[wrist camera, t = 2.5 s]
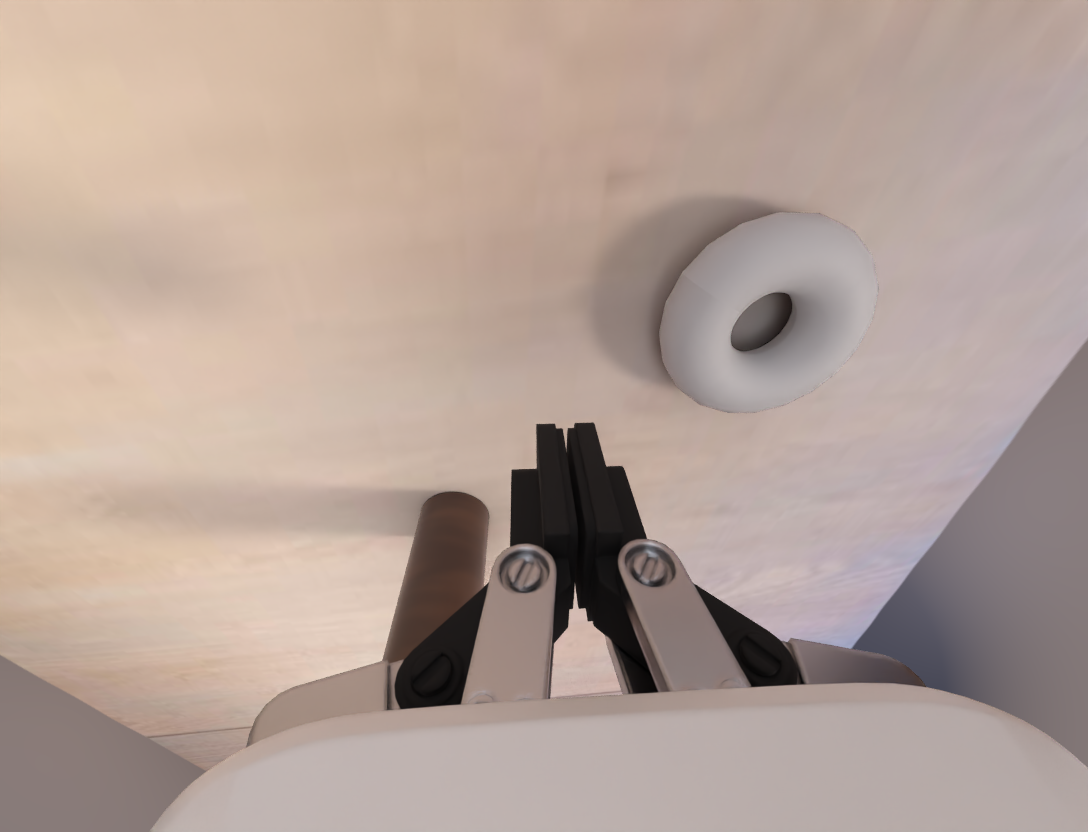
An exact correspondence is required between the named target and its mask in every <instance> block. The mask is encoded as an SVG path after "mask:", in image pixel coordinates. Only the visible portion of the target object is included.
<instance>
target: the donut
mask: <svg viewBox="0 0 1088 832" xmlns="http://www.w3.org/2000/svg"><path fill="white" fill-rule="evenodd" d="M878 291H879V286H878V280H877V275H876V269H875V264H874V259H873V256H872V254H871V252H870V251H869V250H868V248H867V247H866V246H865V244H864V243H863V242H862V240H861V239H860V238H859V236H858V235H857V234H856V232H855V231H854V230H852V229H851V228H849V227H847V226H845V225H843V224H841V223H839V222H837V221H835V220H833V219H831V218H829V217H826V216H824V215H822V214H820V213H791V212H777V213H774V214H771V215H767V216H764V217H761V218H757V219H754V220H751V221H748V222H744V223H741V224H740V225H738V226H736V227H735V228H733V229H732V230H730V231H729V232H727V233H725V234H724V235H722V236H721V237H719V238H718V239H716V240H714V241H713V242H711V243H710V244H708V245H707V246H706V247H705V248H704V249H703V250H702V252H701V253H700V254H699V255H698V256H697V257H696V258H695V259H694V260H693V261H692V262H691V263H690V264H689V265H688V267H687V268H686V269H685V270H684V271H683V272H682V273H681V275H680V277H679V279H678V281H677V282H676V284H675V286H674V288H673V290H672V292H671V294H670V295H669V297H668V299H667V301H666V303H665V307H664V312H663V316H662V321H661V326H660V330H659V337H660V345H661V353H662V360H663V364H664V366H665V368H666V369H667V371H668V373H669V375H670V376H671V378H672V380H673V382H674V384H675V385H676V386H677V387H678V388H679V389H680V390H681V391H682V392H684V393H685V394H686V395H688V396H689V397H690V398H692V399H693V400H694V401H695V402H697V403H698V404H700V405H703V406H707V407H710V408H713V409H716V410H720V411H723V412H727V413H756V412H760V411H764V410H768V409H772V408H776V407H780V406H783V405H786V404H788V403H790V402H792V401H794V400H796V399H798V398H800V397H802V396H804V395H806V394H808V393H810V392H812V391H813V390H815V389H816V388H817V387H819V386H820V385H821V384H823V383H824V382H825V381H826V380H828V379H829V378H830V377H832V376H833V375H834V374H836V373H837V372H838V370H839V369H840V368H841V367H842V366H843V365H844V364H845V362H846V361H847V360H848V359H849V358H850V357H851V355H852V354H853V353H854V352H855V351H856V350H857V348H858V346H859V345H860V343H861V341H862V339H863V337H864V335H865V333H866V331H867V329H868V327H869V325H870V324H871V322H872V320H873V316H874V311H875V306H876V301H877V296H878ZM774 292H781V293H786V294H789V296H790V297H791V300H792V303H793V304H792V312H791V315H790V317H789V320H788V322H787V324H786V325H785V327H784V328H783V329H782V331H781V332H780V333H779V334H778V335H777V336H776V337H775V338H774V339H773V340H771V341H770V342H769V343H767V344H765V345H763V346H761V347H760V348H757V349H754V350H750V351H739V350H736V349H735V348H734V347H732V344H731V332H732V329H733V326H734V324H735V323H736V321H737V320H738V318H739V317H740V315H741V313H742V312H743V311H744V310H746V309H747V308H748V307H749V306H750V305H751V304H752V303H753V302H755V301H756V300H758V299H760V298H762V297H763V296H765V295H767V294H771V293H774Z"/></svg>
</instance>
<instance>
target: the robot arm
mask: <svg viewBox="0 0 1088 832" xmlns="http://www.w3.org/2000/svg"><path fill="white" fill-rule="evenodd" d="M536 435H537V469H517V470H512V477H511V532H510V547H509V548H507V549H506V550H504V551H503V552H502V553H501V554H500V555H499V556H498V557H497V558H496V560H495V563H494V565H493V567H492V572H491V576H490V580H489V583H488V584H487V585H485V586H484V587H483V588H482V589H481V590H480V591H479V592H478V593H476V594H475V595H474V596H473V597H472V598H471V599H470V600H469V601H467V602H466V603H465V604H464V605H463V606H462V607H461V608H460V609H458V610H457V611H456V612H455V613H454V614H453V615H452V616H451V617H449V618H448V619H447V620H446V621H445V622H444V623H443V624H442V625H440V626H439V627H438V628H437V629H436V630H435V631H434V632H433V633H431V634H430V635H429V636H428V637H427V638H426V639H425V640H423V641H422V642H421V643H420V644H419V645H418V646H417V647H416V648H414V649H413V650H412V651H411V652H410V654H409V655H408V656H407V657H406V658H405V659H403V660H400V661H396V662H393V663H389V662H388V660H384V661H381V662H378V663H374V664H371V665H367V666H364V667H360V668H357V669H354V670H350V671H347V672H343V673H340V674H337V675H333V676H330V677H326V678H323V679H319V680H316V681H313V682H309V683H306V684H302V685H299V686H295V687H292V688H290V689H288V690H286V691H284V692H282V693H280V694H278V695H277V696H276V697H275V698H274V699H272V700H271V701H270V702H269V703H267V704H266V706H265V707H264V708H263V710H262V711H261V712H260V714H259V715H258V716H257V717H256V719H255V722H254V724H253V726H252V729H251V731H250V734H249V738H248V742H247V746H246V748H245V749H243V750H241V751H239V752H237V753H235V754H233V755H232V756H230V757H228V758H227V759H225V760H224V761H222V762H220V763H219V764H217V765H216V766H214V767H213V768H211V769H209V770H208V771H207V772H206V773H204V774H203V775H202V776H200V777H199V778H198V779H196V780H195V781H194V782H192V783H191V784H190V785H189V786H188V787H187V788H186V789H185V790H184V791H183V792H182V793H181V794H180V795H179V796H178V797H177V798H176V799H175V800H174V801H173V802H172V804H171V805H170V806H169V807H168V808H167V809H166V810H165V812H164V813H163V814H162V816H161V817H160V818H159V819H158V821H157V822H156V824H155V825H154V826H153V828H152V829H151V830H150V832H1088V768H1087V767H1086V766H1085V765H1084V764H1083V763H1082V762H1080V761H1079V760H1078V759H1077V758H1076V757H1075V756H1074V755H1072V754H1071V753H1070V752H1069V751H1068V750H1066V749H1065V748H1064V747H1063V746H1061V745H1060V744H1059V743H1057V742H1056V741H1055V740H1053V739H1052V738H1051V737H1050V736H1048V735H1046V734H1045V733H1044V732H1042V731H1040V730H1038V729H1037V728H1035V727H1034V726H1032V725H1030V724H1028V723H1027V722H1025V721H1023V720H1021V719H1019V718H1017V717H1015V716H1013V715H1011V714H1008V713H1006V712H1004V711H1001V710H999V709H997V708H994V707H992V706H989V705H986V704H983V703H981V702H978V701H975V700H972V699H969V698H967V697H963V696H960V695H956V694H952V693H949V692H945V691H941V690H937V689H931V688H927V687H926V686H925V684H924V683H923V681H922V680H921V679H920V678H919V677H918V676H917V675H916V674H915V673H914V672H913V671H912V670H911V669H909V668H908V667H907V666H905V665H904V664H902V663H900V662H899V661H897V660H895V659H894V658H890V657H888V656H884V655H882V654H877V653H871V652H865V651H860V650H855V649H849V648H843V647H838V646H832V645H827V644H821V643H816V642H810V641H804V640H799V639H793V638H790V640H789V641H788V642H785V641H780V640H779V639H778V638H777V637H775V636H774V635H773V634H772V633H770V632H769V631H767V630H766V629H764V628H763V627H761V626H760V625H758V624H756V623H755V622H753V621H752V620H750V619H749V618H747V617H745V616H744V615H742V614H741V613H739V612H738V611H736V610H734V609H733V608H731V607H730V606H728V605H727V604H725V603H723V602H722V601H720V600H719V599H717V598H716V597H714V596H712V595H711V594H709V593H708V592H706V591H705V590H703V589H702V588H700V587H698V586H697V585H695V584H694V583H693V582H692V581H691V579H690V577H689V575H688V573H687V572H686V570H685V568H684V566H683V565H682V563H681V561H680V559H679V558H678V557H677V555H676V554H675V553H674V551H672V550H671V549H670V548H669V547H667V546H666V545H664V544H662V543H660V542H658V541H655V540H650V539H647V537H646V534H645V531H644V528H643V525H642V522H641V519H640V516H639V513H638V510H637V507H636V504H635V500H634V497H633V494H632V491H631V488H630V485H629V482H628V479H627V476H626V473H625V470H624V468H623V467H622V466H610V467H606V465H605V461H604V457H603V454H602V450H601V446H600V443H599V439H598V435H597V432H596V428H595V424H594V423H575V425H574V428H568V431H567V452H566V447H565V441H564V434H563V429H562V428H560V429H556V426H555V424H537V426H536ZM575 586H576V594H577V601H578V607H579V609H581V608H586V612H587V619H588V621H593V624H594V626H595V627H596V628H597V629H598V630H600V631H601V632H602V633H603V634H604V635H605V638H606V644H607V647H608V650H609V654H610V657H611V660H612V663H613V666H614V669H615V672H616V675H617V678H618V681H619V684H620V687H621V691H622V694H623V695H607V696H590V697H574V698H557V699H550V694H551V681H552V667H553V653H554V643H555V642H556V640H557V639H558V638H559V637H560V636H561V635H562V634H563V632H564V631H565V630H566V629H567V628H568V620H569V609H573V599H574V587H575Z"/></svg>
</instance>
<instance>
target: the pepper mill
mask: <svg viewBox="0 0 1088 832" xmlns="http://www.w3.org/2000/svg"><path fill="white" fill-rule="evenodd" d="M488 524H489V513H488V510H487V508H486V506H485V505H484V504H483V503H482V502H481V501H480V500H478V499H477V498H475V497H473V496H471V495H468V494H464V493H459V492H447V493H442V494H438V495H436V496H434V497H432V498H430V499H429V500H428V501H427V502H426V503H425V504H424V505H423V507H422V510H421V514H420V517H419V521H418V525H417V529H416V533H415V537H414V540H413V544H412V548H411V552H410V556H409V560H408V564H407V567H406V571H405V575H404V579H403V583H402V587H401V591H400V594H399V598H398V602H397V606H396V610H395V614H394V618H393V621H392V625H391V629H390V633H389V637H388V641H387V644H386V648H385V652H384V656H383V660H382V661H384V660H388V662H389V663H393V662H396V661H400V660H403V659H405V658H406V657H407V656H408V655H409V654H410V652H411V651H412V650H413V649H414V648H416V647H417V646H418V645H419V644H420V643H421V642H422V641H423V640H425V639H426V638H427V637H428V636H429V635H430V634H431V633H433V632H434V631H435V630H436V629H437V628H438V627H439V626H440V625H442V624H443V623H444V622H445V621H446V620H447V619H448V618H449V617H451V616H452V615H453V614H454V613H455V612H456V611H457V610H458V609H460V608H461V607H462V606H463V605H464V604H465V603H466V602H467V601H469V600H470V599H471V598H472V597H473V596H474V595H475V594H476V593H478V592H479V591H480V590H481V589H482V588H483V587H484V575H485V562H486V549H487V537H488Z"/></svg>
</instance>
